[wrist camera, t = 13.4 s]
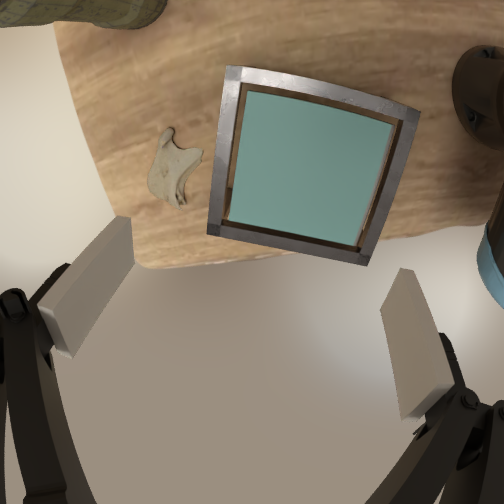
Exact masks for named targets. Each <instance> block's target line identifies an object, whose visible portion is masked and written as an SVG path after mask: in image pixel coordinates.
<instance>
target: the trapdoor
mask: <svg viewBox="0 0 504 504" xmlns="http://www.w3.org/2000/svg"><path fill="white" fill-rule="evenodd" d="M394 128H395V125H393V124H390V123H387V122H384V121H381V120H378V119H374V118H371V117H368V116H364V115H361V114H357V113H354V112H350V111H346V110H343V109H339V108H335V107H331V106H327V105H323V104H318V103H314V102H310V101H305V100H300V99H295V98H291V97H285V96H280V95H275V94H269V93H263V92H257V91H251V90H249V91H248V92H247V98H246V105H245V111H244V117H243V124H242V130H241V137H240V144H239V150H238V157H237V164H236V171H235V178H234V185H233V192H232V199H231V207H230V214H229V220H230V221H235V222H240V223H245V224H250V225H255V226H260V227H265V228H270V229H275V230H280V231H285V232H290V233H295V234H300V235H305V236H310V237H314V238H319V239H324V240H329V241H333V242H338V243H343V244H347V245H352V246H356V245H357V242H358V239H359V237H360V234H361V231H362V228H363V226H364V223H365V220H366V217H367V214H368V211H369V209H370V206H371V203H372V200H373V197H374V194H375V191H376V188H377V185H378V182H379V178H380V175H381V172H382V169H383V166H384V163H385V159H386V156H387V153H388V149H389V146H390V142H391V139H392V135H393V132H394Z"/></svg>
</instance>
